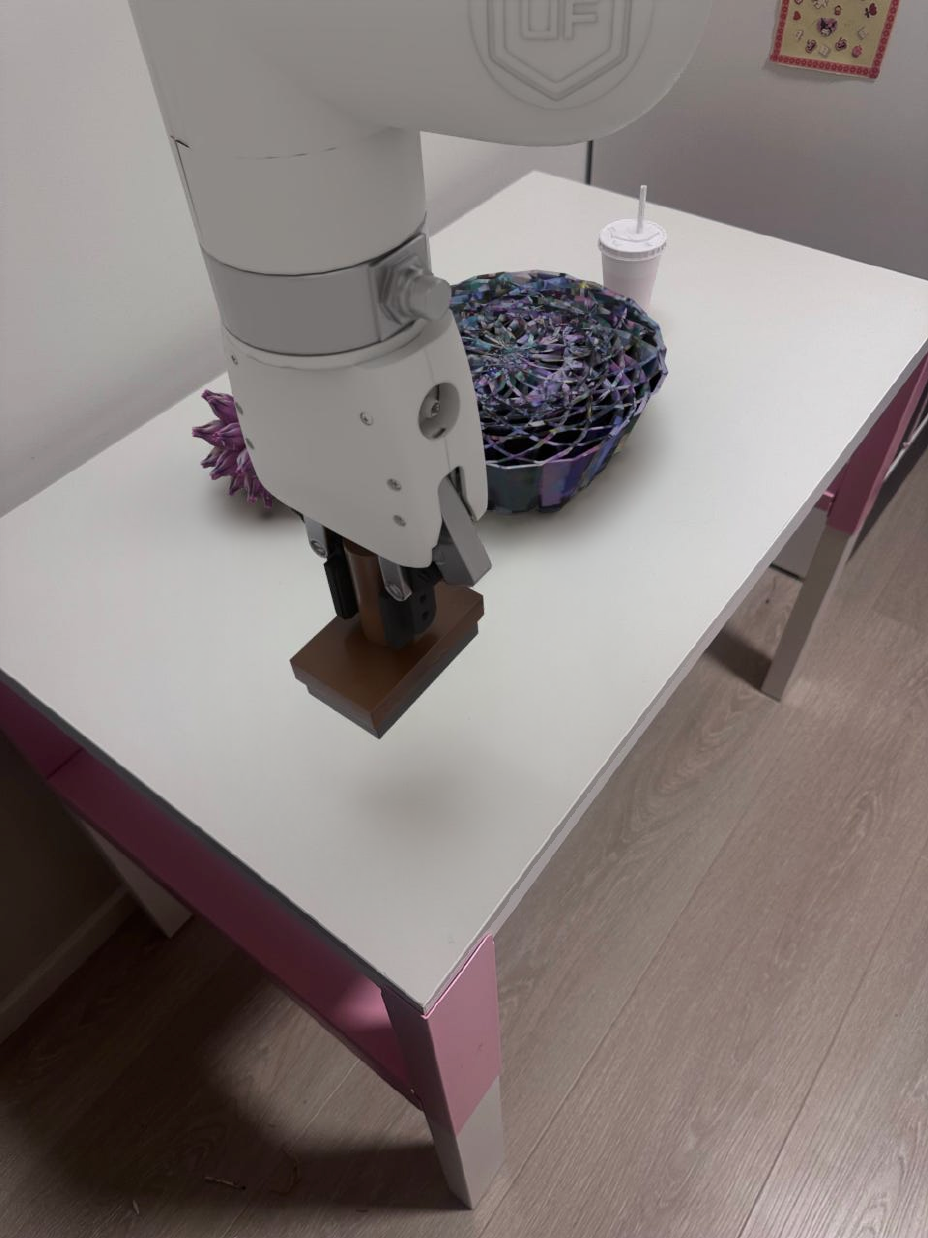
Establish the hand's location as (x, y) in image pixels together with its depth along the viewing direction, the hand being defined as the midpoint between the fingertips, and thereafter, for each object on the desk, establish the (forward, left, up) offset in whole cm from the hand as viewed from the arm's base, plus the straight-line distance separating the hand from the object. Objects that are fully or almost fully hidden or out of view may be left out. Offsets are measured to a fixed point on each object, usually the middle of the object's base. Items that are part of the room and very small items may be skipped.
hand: (386, 613), depth 44 cm
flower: (+13, -29, -17) cm, 36 cm away
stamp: (0, 0, -4) cm, 4 cm away
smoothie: (-19, -51, -17) cm, 57 cm away
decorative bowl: (-7, -35, -17) cm, 39 cm away
